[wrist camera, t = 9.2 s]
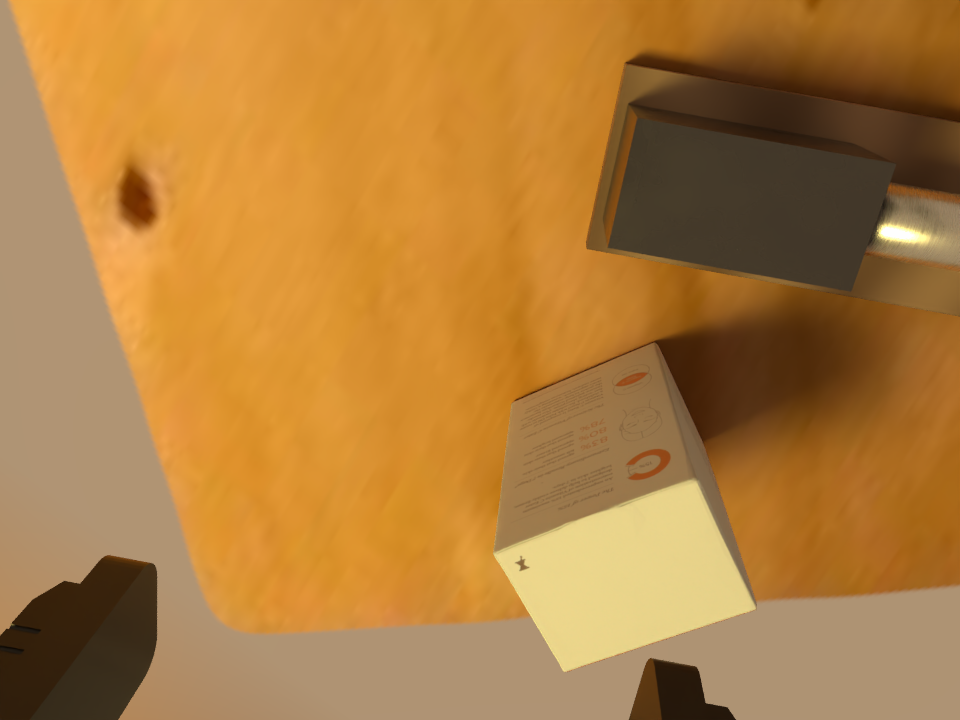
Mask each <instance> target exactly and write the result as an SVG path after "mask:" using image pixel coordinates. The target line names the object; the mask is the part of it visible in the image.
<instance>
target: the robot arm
mask: <svg viewBox="0 0 960 720" xmlns="http://www.w3.org/2000/svg"><path fill="white" fill-rule="evenodd" d="M156 641H157V571H156V567H155V565H154V564H152V563H147V562H142V561H137V560H132V559H126V558H121V557H116V556H110V555H107V556H105V557H103V558H102V559H101V560H100V561H99V562H98V563H97V564H96V566H95V567H94V568H93V569H92V570H91V572H90V573H89V574H88V575H87V576H86V578H85V579H84V580H83V581H82V582H81V584H77V583H72V582H67V581H64V582H62V583H60V584H58V585H57V586H55V587H53V588H52V589H50V590H48V591H47V592H45V593H43V594H41V595H40V596H38V597H37V598H35V599H33V600H32V601H31V602H30V603H29V604H28V605H27V607H26V608H25V609H24V610H23V611H22V612H21V613H20V615H18V617H17V618H16V619H15V620H14V621H13V622H12V623H11V626H10V628H9V629H6V630H5V631H4V632H3V633H2V634H1V636H0V720H118V719H119V718H120V716H121V714H122V713H123V711H124V710H125V708H126V706H127V705H128V703H129V702H130V700H131V698H132V697H133V695H134V694H135V692H136V690H137V689H138V687H139V685H140V684H141V682H142V681H143V679H144V677H145V676H146V674H147V672H148V669H149V667H150V664H151V662H152V659H153V656H154V652H155V647H156ZM629 720H736V719H735V718H734V716H733V715H732V713H731V712H730V711H729V709H728V708H727V707H722V706H717V705H712V704H706V703H705V698H704V693H703V688H702V683H701V678H700V674H699V671H698V669H697V667H695V666H690V665H685V664H679V663H674V662H669V661H663V660H657V659H652V658H650V659H649V660H648V661H647V663H646V665H645V668H644V671H643V675H642V678H641V681H640V685H639V688H638V691H637V695H636V698H635V701H634V704H633V708H632V711H631V714H630V718H629Z"/></svg>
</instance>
